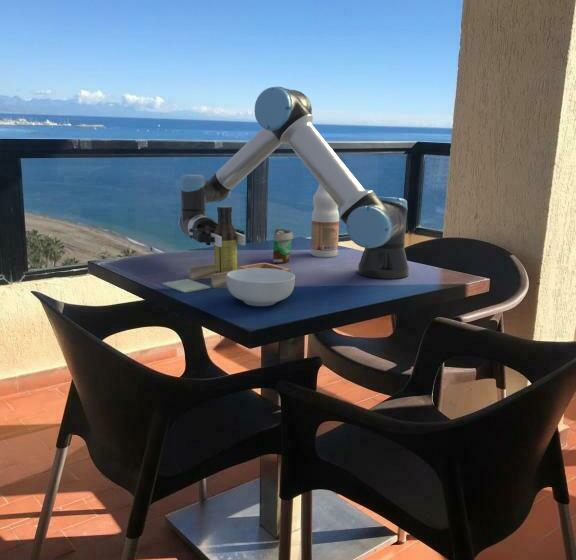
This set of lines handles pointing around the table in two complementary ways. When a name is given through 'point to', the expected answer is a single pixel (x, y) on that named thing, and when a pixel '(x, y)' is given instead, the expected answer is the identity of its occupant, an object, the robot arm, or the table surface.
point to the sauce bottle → (225, 242)
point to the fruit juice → (324, 225)
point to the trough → (210, 274)
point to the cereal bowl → (260, 285)
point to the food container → (282, 246)
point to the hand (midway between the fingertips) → (232, 241)
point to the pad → (186, 285)
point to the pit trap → (265, 266)
